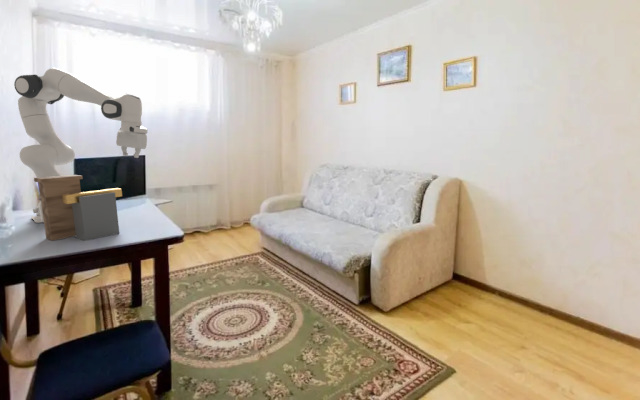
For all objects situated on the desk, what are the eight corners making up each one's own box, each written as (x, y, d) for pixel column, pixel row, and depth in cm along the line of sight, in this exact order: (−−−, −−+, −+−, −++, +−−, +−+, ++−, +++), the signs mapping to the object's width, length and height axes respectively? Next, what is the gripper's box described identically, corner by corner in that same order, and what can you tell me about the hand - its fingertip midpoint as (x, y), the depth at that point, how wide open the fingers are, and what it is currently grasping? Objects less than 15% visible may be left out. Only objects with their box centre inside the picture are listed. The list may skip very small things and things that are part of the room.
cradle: (76, 237, 150) (70, 195, 147) (110, 230, 162) (105, 190, 159) (85, 240, 146) (79, 197, 143) (119, 233, 158) (115, 192, 154)
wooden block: (67, 203, 141) (66, 195, 141) (63, 203, 143) (62, 194, 142) (122, 196, 159) (121, 188, 159) (118, 195, 161) (117, 188, 161)
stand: (42, 238, 149) (33, 177, 144) (81, 231, 161) (74, 174, 156) (49, 241, 145) (41, 179, 140) (89, 233, 157) (82, 175, 153)
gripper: (113, 126, 174) (112, 154, 176) (137, 128, 164) (136, 158, 166) (125, 127, 180) (125, 154, 182) (149, 130, 169) (148, 158, 171)
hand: (130, 156), depth 174 cm, fingers open, 8 cm apart
